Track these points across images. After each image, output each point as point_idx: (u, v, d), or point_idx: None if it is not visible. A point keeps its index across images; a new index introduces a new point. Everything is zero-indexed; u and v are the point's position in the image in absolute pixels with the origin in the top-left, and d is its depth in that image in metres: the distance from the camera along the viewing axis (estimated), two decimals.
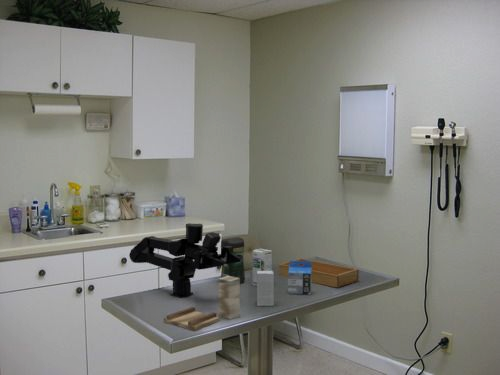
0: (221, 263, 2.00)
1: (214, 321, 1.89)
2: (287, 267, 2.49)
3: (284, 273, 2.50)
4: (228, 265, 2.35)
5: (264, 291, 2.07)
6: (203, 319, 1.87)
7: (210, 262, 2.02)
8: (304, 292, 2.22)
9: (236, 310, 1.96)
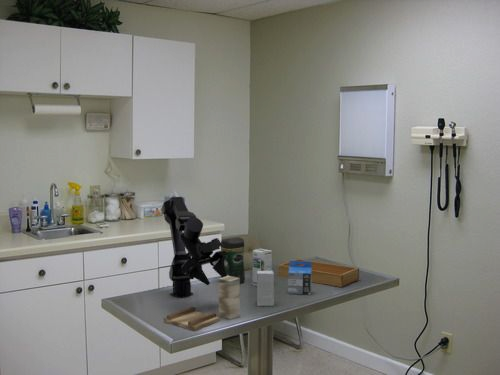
0: (207, 282, 1.95)
1: (214, 321, 1.89)
2: (287, 268, 2.47)
3: (284, 274, 2.49)
4: (228, 265, 2.35)
5: (264, 291, 2.07)
6: (203, 319, 1.87)
7: (197, 273, 1.96)
8: (304, 292, 2.22)
9: (236, 310, 1.96)
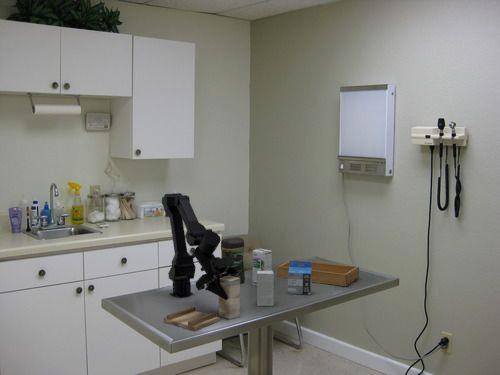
0: (225, 297, 1.93)
1: (214, 321, 1.89)
2: (287, 269, 2.46)
3: (284, 275, 2.47)
4: None
5: (264, 291, 2.07)
6: (203, 319, 1.87)
7: (216, 288, 1.94)
8: (304, 292, 2.22)
9: (236, 310, 1.96)
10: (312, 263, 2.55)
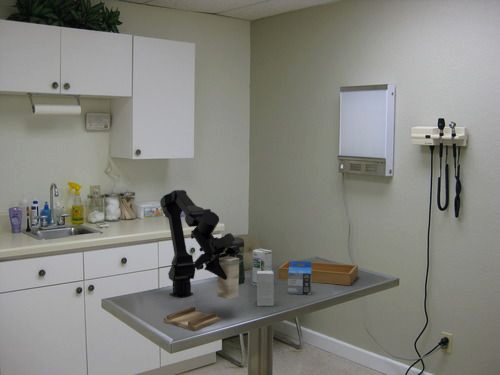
0: (224, 277, 1.92)
1: (214, 321, 1.89)
2: None
3: (285, 276, 2.44)
4: None
5: (264, 291, 2.07)
6: (203, 319, 1.87)
7: (215, 268, 1.93)
8: (304, 292, 2.22)
9: (235, 290, 1.95)
10: None
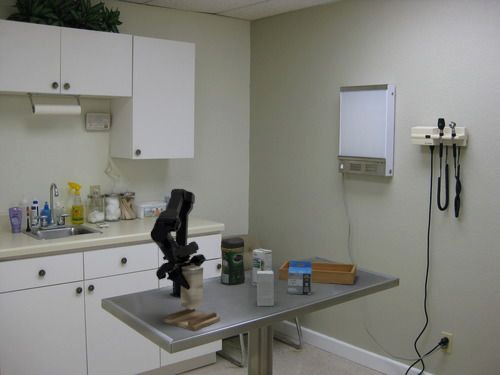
0: (187, 287, 1.87)
1: (214, 321, 1.89)
2: None
3: (286, 277, 2.43)
4: (228, 265, 2.35)
5: (264, 291, 2.07)
6: (203, 319, 1.87)
7: (177, 277, 1.88)
8: (304, 292, 2.22)
9: (198, 300, 1.89)
10: None
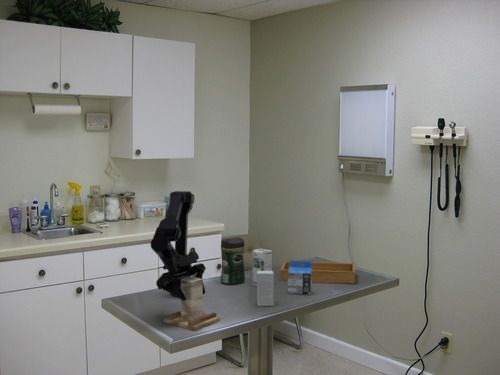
0: (183, 298, 1.86)
1: (214, 321, 1.89)
2: None
3: (287, 278, 2.42)
4: (228, 265, 2.35)
5: (264, 291, 2.07)
6: (203, 319, 1.87)
7: (173, 288, 1.87)
8: (304, 292, 2.22)
9: (199, 312, 1.90)
10: None
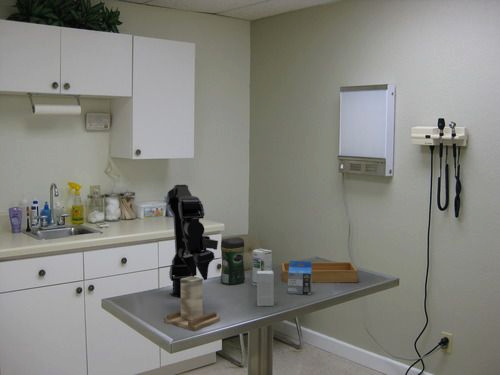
0: (205, 277, 1.98)
1: (214, 321, 1.89)
2: None
3: None
4: (228, 265, 2.35)
5: (264, 291, 2.07)
6: (203, 319, 1.87)
7: (203, 266, 1.96)
8: (304, 292, 2.22)
9: (199, 311, 1.90)
10: None
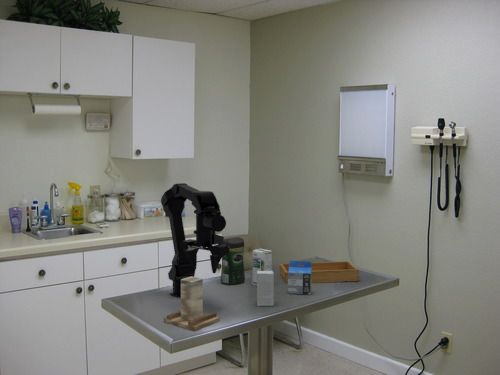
0: (215, 271, 2.02)
1: (214, 321, 1.89)
2: None
3: None
4: (228, 265, 2.35)
5: (264, 291, 2.07)
6: (203, 319, 1.87)
7: (216, 259, 2.01)
8: (304, 292, 2.22)
9: (199, 312, 1.90)
10: (302, 264, 2.53)
